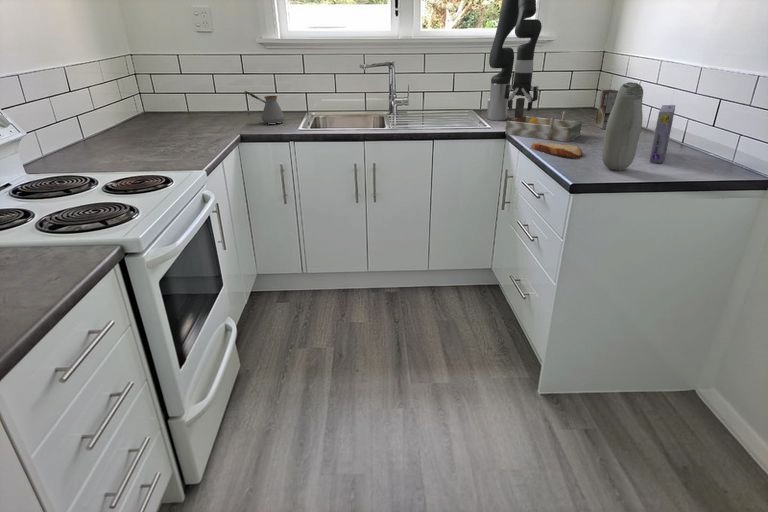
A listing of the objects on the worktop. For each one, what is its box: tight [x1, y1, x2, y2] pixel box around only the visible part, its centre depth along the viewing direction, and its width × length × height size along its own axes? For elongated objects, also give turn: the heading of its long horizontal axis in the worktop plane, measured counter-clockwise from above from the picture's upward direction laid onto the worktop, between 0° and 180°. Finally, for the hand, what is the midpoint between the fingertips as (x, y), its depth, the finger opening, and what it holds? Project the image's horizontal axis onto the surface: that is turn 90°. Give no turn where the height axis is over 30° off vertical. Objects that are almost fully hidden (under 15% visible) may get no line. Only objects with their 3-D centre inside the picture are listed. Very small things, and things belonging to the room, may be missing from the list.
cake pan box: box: [649, 104, 676, 164], centre depth 175 cm, size 19×5×18 cm, turn 150°
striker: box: [510, 97, 527, 123], centre depth 217 cm, size 2×12×11 cm, turn 144°
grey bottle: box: [601, 81, 644, 171], centre depth 160 cm, size 10×10×28 cm
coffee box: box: [594, 89, 618, 130], centre depth 222 cm, size 9×6×16 cm
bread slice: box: [530, 142, 584, 159], centre depth 187 cm, size 18×18×4 cm
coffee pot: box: [242, 90, 286, 123], centre depth 244 cm, size 21×12×15 cm, turn 68°
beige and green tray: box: [504, 111, 583, 143], centre depth 212 cm, size 28×17×9 cm, turn 54°
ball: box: [529, 116, 538, 124], centre depth 215 cm, size 4×4×4 cm
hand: (519, 109), depth 216 cm, fingers open, 8 cm apart
